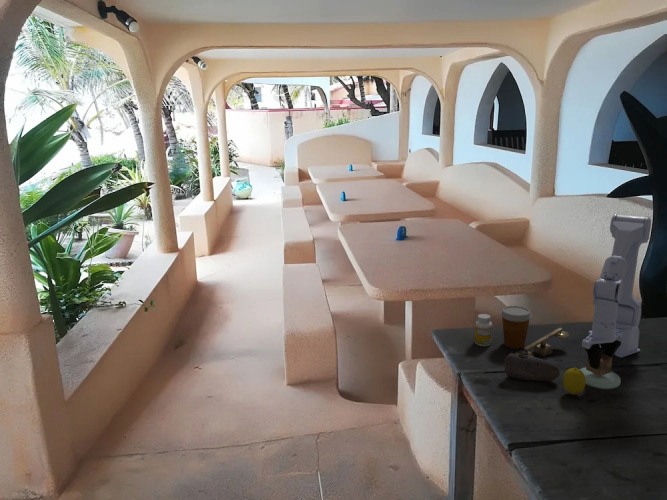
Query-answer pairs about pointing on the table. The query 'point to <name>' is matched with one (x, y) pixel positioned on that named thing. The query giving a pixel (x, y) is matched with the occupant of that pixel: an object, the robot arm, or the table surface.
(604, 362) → the block
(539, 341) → the balance
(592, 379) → the dish
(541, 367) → the perforated stone tool
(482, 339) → the supplement bottle
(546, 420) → the table surface
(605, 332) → the robot arm
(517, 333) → the disposable coffee cup
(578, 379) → the lemon
